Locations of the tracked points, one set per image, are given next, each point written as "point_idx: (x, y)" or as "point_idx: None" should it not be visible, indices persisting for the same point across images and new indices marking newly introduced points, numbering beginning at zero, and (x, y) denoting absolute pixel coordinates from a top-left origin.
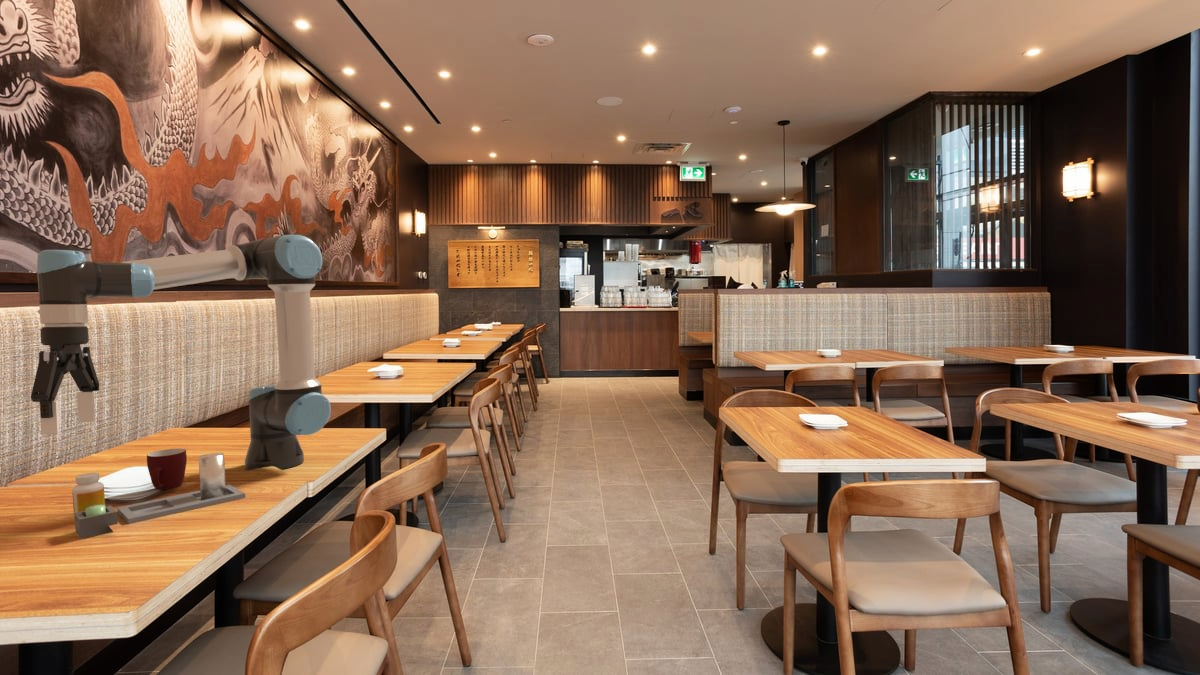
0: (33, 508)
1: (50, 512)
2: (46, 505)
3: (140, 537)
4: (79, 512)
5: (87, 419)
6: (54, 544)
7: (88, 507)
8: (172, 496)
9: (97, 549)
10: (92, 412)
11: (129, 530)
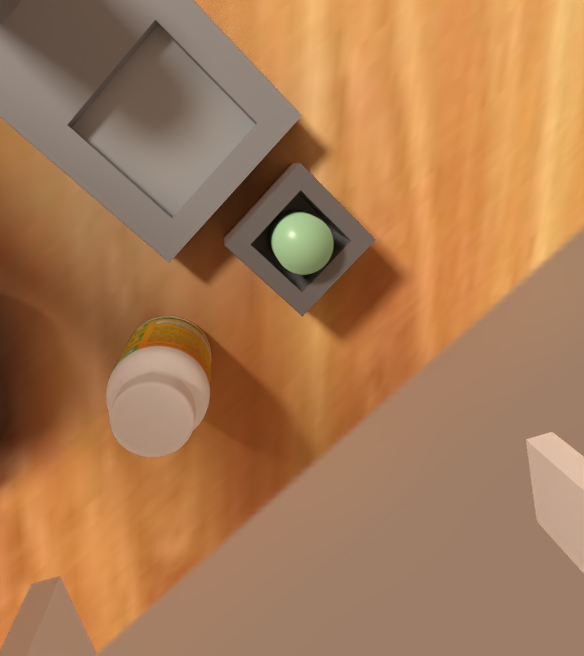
0: (79, 604)
1: (114, 524)
2: None
3: (359, 29)
4: (300, 300)
5: (67, 623)
6: (392, 279)
7: (304, 270)
8: (20, 125)
9: (449, 106)
10: (36, 641)
11: None
